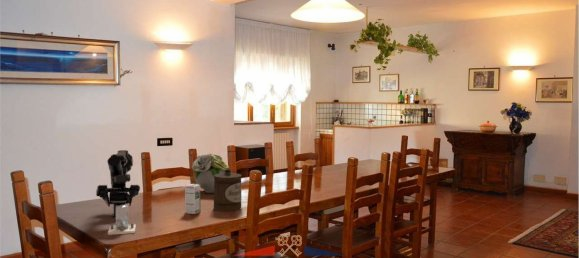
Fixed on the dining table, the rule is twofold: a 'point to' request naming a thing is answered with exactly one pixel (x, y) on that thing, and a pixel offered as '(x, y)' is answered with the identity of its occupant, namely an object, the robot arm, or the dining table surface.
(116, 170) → the robot arm
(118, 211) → the steel canister
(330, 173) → the dining table surface
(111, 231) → the pin tray
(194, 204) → the syrup box
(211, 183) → the flower arrangement
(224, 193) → the wooden container
